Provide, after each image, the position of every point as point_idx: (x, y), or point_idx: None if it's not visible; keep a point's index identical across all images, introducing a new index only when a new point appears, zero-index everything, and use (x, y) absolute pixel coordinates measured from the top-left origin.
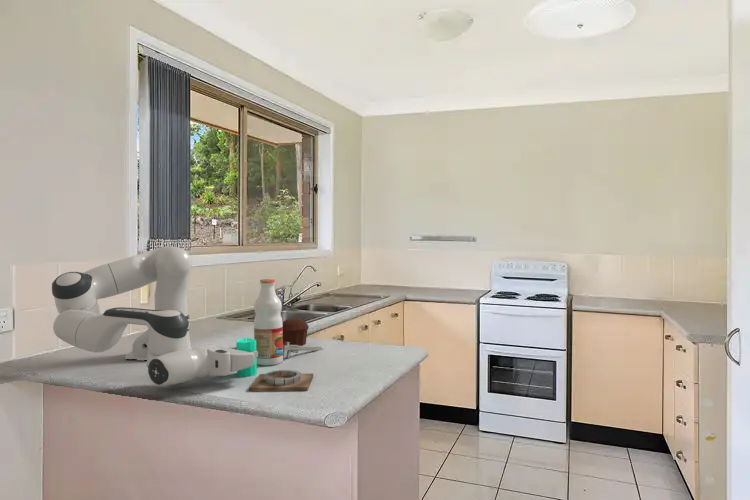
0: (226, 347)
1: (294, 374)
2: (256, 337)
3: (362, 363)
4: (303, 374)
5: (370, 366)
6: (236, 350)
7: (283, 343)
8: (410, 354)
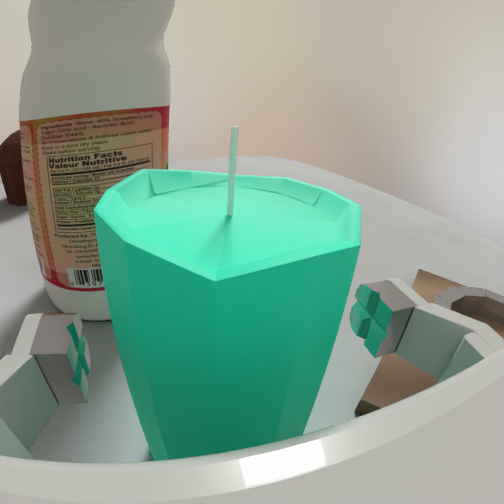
0: (72, 472)
1: (463, 304)
2: (68, 173)
3: None
4: (425, 286)
5: (354, 201)
6: (493, 416)
7: (13, 200)
8: (299, 166)
